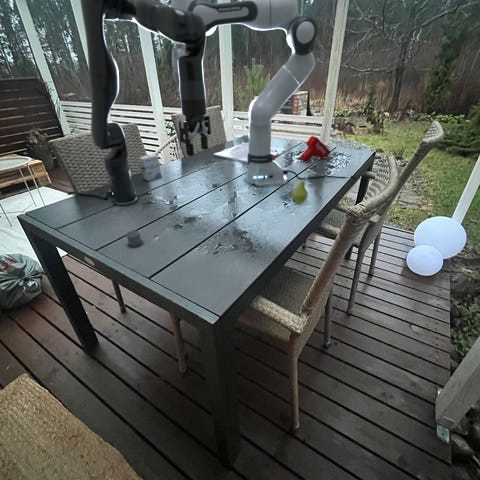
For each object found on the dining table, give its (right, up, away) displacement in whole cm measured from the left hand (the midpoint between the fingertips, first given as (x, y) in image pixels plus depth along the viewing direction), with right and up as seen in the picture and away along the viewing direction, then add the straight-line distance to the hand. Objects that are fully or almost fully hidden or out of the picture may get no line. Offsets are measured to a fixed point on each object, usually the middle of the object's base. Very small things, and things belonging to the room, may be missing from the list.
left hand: (197, 152), depth 90 cm
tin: (-22, -31, +4) cm, 38 cm away
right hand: (-9, +41, +31) cm, 52 cm away
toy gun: (+62, +22, +85) cm, 107 cm away
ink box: (-34, +5, +59) cm, 68 cm away
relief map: (+18, +29, +95) cm, 101 cm away
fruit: (+41, -12, +32) cm, 53 cm away
